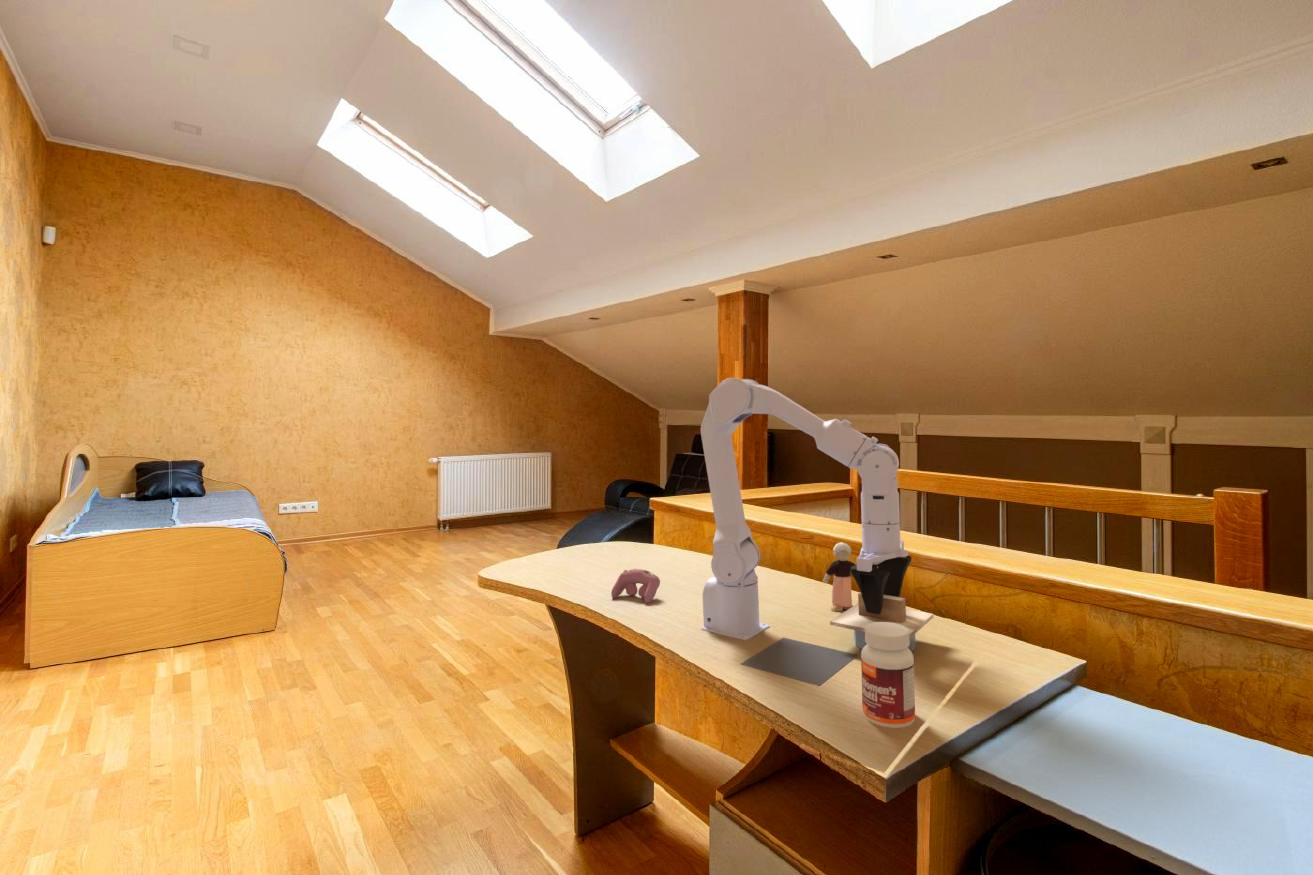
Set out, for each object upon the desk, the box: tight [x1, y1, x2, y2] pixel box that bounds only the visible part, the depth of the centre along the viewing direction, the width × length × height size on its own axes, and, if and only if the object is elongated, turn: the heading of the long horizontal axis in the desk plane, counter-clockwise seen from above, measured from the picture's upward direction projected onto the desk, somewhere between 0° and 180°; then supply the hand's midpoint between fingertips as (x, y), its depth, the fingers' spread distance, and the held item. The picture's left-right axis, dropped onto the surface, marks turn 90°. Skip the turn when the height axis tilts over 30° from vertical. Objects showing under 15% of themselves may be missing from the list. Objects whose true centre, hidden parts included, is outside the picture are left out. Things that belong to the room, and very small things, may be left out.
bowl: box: [853, 630, 917, 653], centre depth 100 cm, size 9×9×4 cm
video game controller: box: [610, 568, 661, 604], centre depth 132 cm, size 10×5×7 cm, turn 58°
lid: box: [829, 591, 934, 639], centre depth 100 cm, size 12×12×4 cm
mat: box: [740, 637, 859, 687], centre depth 95 cm, size 13×13×1 cm
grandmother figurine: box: [822, 542, 857, 612], centre depth 119 cm, size 8×4×13 cm, turn 112°
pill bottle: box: [860, 622, 916, 729], centre depth 77 cm, size 6×6×11 cm
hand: (883, 606), depth 100 cm, fingers open, 7 cm apart
